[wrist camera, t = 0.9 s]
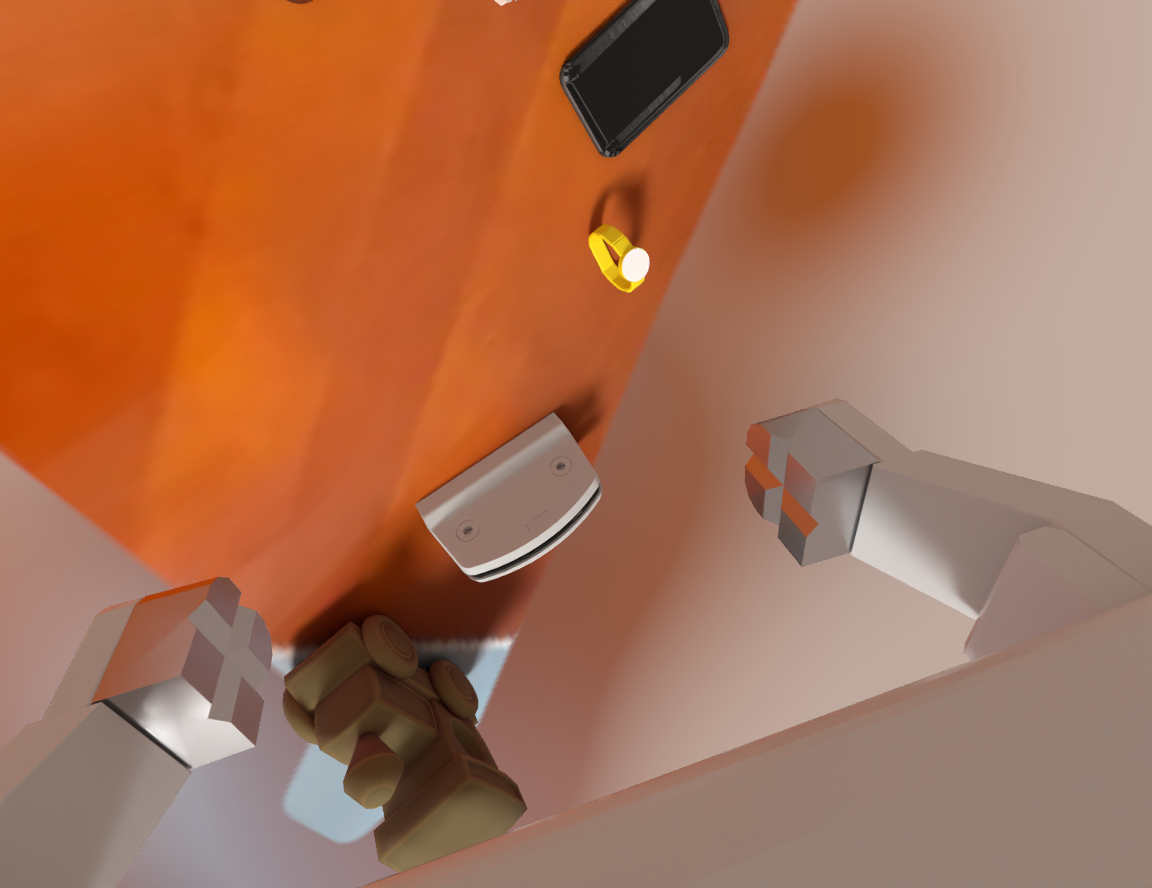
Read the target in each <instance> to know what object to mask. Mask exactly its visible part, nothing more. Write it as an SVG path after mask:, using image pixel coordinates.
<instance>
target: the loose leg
mask: <svg viewBox="0 0 1152 888" xmlns="http://www.w3.org/2000/svg"><path fill="white" fill-rule="evenodd" d="M287 1H290V2H293V3H297V4H304V3H308V2H311V1H312V0H287Z"/></svg>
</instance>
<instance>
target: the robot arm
mask: <svg viewBox="0 0 1152 888" xmlns="http://www.w3.org/2000/svg"><path fill="white" fill-rule="evenodd" d="M747 446H748V447H749V448H750V449H751V450H752V452H753V453H754V454H753V455H752V457H751V458H750V460H749V461H748V463H747V464H746V465H745V484H746V488H747V491H748V495H749V498H750V500H751V502H752V504H753V506H754V507H755V509H756V510H757V512H758V513H759V514H760V515H761V517H762V518H763V519H765V520H768V521H770V522H772V523H775V524H777V525H779V530H778V531H779V532H778V538H779V539H780V541H781V542H782V543H783V544H784V546H785V547H786V548H787V549H788V551H789V552H790V553H791V554H792V555H793V557H794V558H795V559H796V560H797V561H798V563H799V564H800V565H801V567H802V566H806V565H810V564H813V563H816V562H819V561H823V560H826V559H830V558H833V557H836V556H840V555H843V554H846V553H850V552H851V555H852V556H854V557H856V558H858V559H860V560H862V561H864V562H866V563H868V564H869V565H871V566H873V567H875V568H877V569H879V570H881V571H883V572H885V573H887V574H889V575H890V576H892V577H894V578H896V579H898V580H900V581H902V582H904V583H906V584H908V585H910V586H912V587H913V588H915V589H917V590H919V591H921V592H923V593H925V594H927V595H929V596H931V597H933V598H935V599H936V600H939V601H940V602H942V603H944V604H946V605H948V606H950V607H952V608H954V609H956V610H958V611H960V612H961V613H963V614H965V615H967V616H969V617H971V618H973V619H975V620H976V622H975V624H974V626H973V628H972V630H971V632H970V634H969V636H968V638H967V640H966V642H965V647H964V654H965V655H966V656H967V657H968V658H969V659H970V660H971V661H969V662H967V663H964V664H961V665H958V666H956V667H953V668H950V669H947V670H945V671H942V672H939V673H937V674H934V675H931V676H929V677H926V678H923V679H921V680H918V681H915V682H912V683H910V684H907V685H904V686H901V687H899V688H896V689H893V690H891V691H888V692H885V693H883V694H880V695H877V696H874V697H872V698H869V699H866V700H864V701H861V702H858V703H856V704H853V705H850V706H848V707H845V708H842V709H840V710H837V711H834V712H831V713H829V714H826V715H823V716H821V717H818V718H815V719H813V720H810V721H807V722H805V723H802V724H799V725H796V726H794V727H791V728H788V729H785V730H783V731H780V732H777V733H775V734H772V735H769V736H766V737H764V738H761V739H758V740H756V741H753V742H750V743H748V744H745V745H742V746H739V747H737V748H734V749H731V750H729V751H726V752H723V753H721V754H718V755H715V756H713V757H710V758H707V759H704V760H702V761H699V762H696V763H694V764H691V765H689V766H686V767H683V768H680V769H678V770H675V771H672V772H669V773H667V774H664V775H661V776H659V777H656V778H653V779H650V780H648V781H645V782H642V783H640V784H637V785H634V786H631V787H629V788H626V789H623V790H621V791H618V792H615V793H613V794H610V795H607V796H604V797H602V798H599V799H597V800H594V801H591V802H588V803H586V804H583V805H580V806H577V807H575V808H572V809H569V810H567V811H564V812H561V813H559V814H556V815H553V816H550V817H548V818H545V819H542V820H540V821H537V822H534V823H532V824H529V825H526V826H524V827H521V828H518V829H515V830H513V831H510V832H507V833H505V834H502V835H499V836H496V837H494V838H491V839H488V840H486V841H483V842H480V843H478V844H475V845H472V846H469V847H467V848H464V849H461V850H459V851H456V852H453V853H451V854H448V855H445V856H442V857H440V858H437V859H434V860H432V861H429V862H426V863H424V864H421V865H418V866H415V867H413V868H410V869H407V870H405V871H402V872H399V873H397V874H394V875H391V876H389V877H386V878H383V879H380V880H378V881H375V882H372V883H370V884H367V885H364V886H362V887H359V888H1152V526H1151V525H1149V524H1147V523H1146V522H1144V521H1143V520H1141V519H1140V518H1138V517H1136V516H1135V515H1133V514H1131V513H1130V512H1128V511H1127V510H1125V509H1124V508H1122V507H1121V506H1119V505H1117V504H1116V503H1114V502H1112V501H1109V500H1105V499H1101V498H1098V497H1094V496H1090V495H1086V494H1083V493H1079V492H1076V491H1072V490H1068V489H1065V488H1061V487H1057V486H1053V485H1050V484H1046V483H1042V482H1039V481H1035V480H1031V479H1028V478H1024V477H1020V476H1016V475H1013V474H1009V473H1006V472H1002V471H998V470H994V469H991V468H987V467H983V466H979V465H975V464H972V463H968V462H965V461H961V460H958V459H954V458H950V457H946V456H943V455H939V454H935V453H932V452H928V451H924V450H920V451H916V452H912V451H910V450H909V449H908V448H907V447H905V446H904V445H903V444H901V443H900V442H899V441H897V440H896V439H895V438H893V437H892V436H891V435H890V434H888V433H887V432H886V431H884V430H883V429H881V428H880V427H879V426H878V425H876V424H875V423H874V422H872V421H871V420H870V419H869V418H867V417H866V416H865V415H863V414H862V413H861V412H859V411H858V410H857V409H855V408H854V407H853V406H851V405H850V404H849V403H848V402H846V401H844V400H840V399H833V400H829V401H826V402H823V403H820V404H816V405H813V406H810V407H808V408H807V409H802V410H799V411H795V412H792V413H789V414H785V415H782V416H778V417H775V418H771V419H768V420H765V421H762V422H758V423H755V424H751V426H750V428H749V431H748V433H747ZM240 596H241V591H240V590H239V589H238V588H237V587H236V586H235V584H234V583H233V582H232V581H231V580H230V579H229V578H224V577H217V578H213V579H209V580H205V581H201V582H198V583H194V584H190V585H186V586H183V587H179V588H175V589H171V590H168V591H164V592H160V593H156V594H152V595H149V596H145V597H144V598H140V599H136V600H132V601H129V602H125V603H121V604H117V605H113V606H110V607H107V608H105V609H104V610H103V611H101V612H100V613H99V614H97V615H96V616H95V618H94V620H93V622H92V624H91V625H90V627H89V629H88V631H87V633H86V635H85V637H84V639H83V641H82V643H81V645H80V647H79V649H78V650H77V652H76V654H75V656H74V658H73V660H72V662H71V664H70V666H69V668H68V670H67V672H66V674H65V675H64V678H63V679H62V682H61V683H60V685H59V687H58V689H57V691H56V693H55V695H54V697H53V699H52V701H51V702H50V705H49V706H48V708H47V710H46V712H45V714H44V716H43V718H42V720H40V721H37V722H34V723H31V724H28V725H27V726H25V727H24V728H23V729H22V730H21V731H20V732H19V733H18V734H17V735H16V736H15V737H14V738H13V739H11V740H10V741H9V742H8V743H7V744H6V745H5V746H4V747H3V748H2V749H1V750H0V888H115V887H116V886H117V884H118V883H119V881H120V879H121V878H122V877H123V875H124V874H125V872H126V870H127V869H128V868H129V866H130V865H131V863H132V862H133V860H134V859H135V857H136V856H137V854H138V853H139V851H140V850H141V848H142V846H143V845H144V844H145V842H146V841H147V839H148V838H149V836H150V834H151V833H152V831H153V830H154V829H155V827H156V826H157V824H158V823H159V821H160V819H161V818H162V817H163V815H164V813H165V812H166V811H167V809H168V808H169V806H170V804H171V803H172V802H173V800H174V799H175V797H176V795H177V794H178V793H179V791H180V789H181V788H182V786H183V785H184V783H185V782H186V780H187V779H188V777H189V776H190V774H191V771H190V770H191V769H193V768H196V767H199V766H202V765H204V764H207V763H210V762H213V761H216V760H218V759H221V758H224V757H227V756H229V755H233V754H235V753H238V752H241V751H244V750H246V749H249V748H252V747H255V746H256V741H257V736H258V731H259V725H260V720H261V715H262V710H263V704H264V700H263V699H262V698H261V696H260V695H259V694H258V693H257V692H256V689H257V688H258V687H259V685H260V684H261V683H262V682H263V680H264V679H265V678H266V676H267V675H268V674H269V673H270V666H271V660H272V647H271V638H270V634H269V631H268V629H267V626H266V624H265V622H264V620H263V619H262V618H261V616H260V615H259V614H258V613H257V611H255V610H252V609H249V608H246V607H243V606H240V605H238V603H239V600H240Z"/></svg>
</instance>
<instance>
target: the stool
mask: <svg viewBox="0 0 1152 888" xmlns="http://www.w3.org/2000/svg"><path fill="white" fill-rule="evenodd" d="M495 1H496V2H497V3H498V4H499V5H501V6H502V5H504V4H505V3H507V2H508V3H509V2H511V1H512V0H495ZM515 1H517V0H515Z"/></svg>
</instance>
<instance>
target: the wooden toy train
mask: <svg viewBox="0 0 1152 888" xmlns="http://www.w3.org/2000/svg"><path fill="white" fill-rule="evenodd" d="M417 665H418V656H417V652H416V650H415V647H414V645H413V644H412V642H411V640H410V639H409V637H408V636H407V635H406V633H405V632H404V631H403V630H402V629H401V628H400V627H399V626H398V625H397V624H396V623H395V622H394V621H393V620H391V619H390V618H388V617H386V616H383V615H377V614H376V615H373V616H370V617H367V618H366V619H365V621H364V622H363V624H362V626H361V628H360V627H358V626H357V625H355V624H354V623H352V622H351V621H350V622H349V623H348V624H347V625H345V626H344V627H343V628H342V629H341V630H339V631H338V632H337V633H336V634H335V635H333V636H332V637H331V638H330V639H329V640H327V641H326V642H325V643H324V644H323V645H321V646H320V647H319V648H318V649H317V650H315V651H314V652H313V653H312V654H311V655H310V656H308V657H307V658H306V659H305V660H304V661H302V662H301V663H300V664H299V665H298V666H296V667H295V668H294V669H293V670H292V671H290V672H289V673H288V674H287V675H286V676H284V681H285V687H286V689H285V692H284V694H283V709H284V714H285V716H286V718H287V720H288V722H289V724H290V725H291V727H292V728H293V729H294V731H295V732H296V733H297V734H298V735H299V736H300V737H302V738H303V739H305V740H306V741H308V742H309V743H313V744H316V745H319V748H320V750H321V751H323V752H325V753H326V754H328V755H330V756H331V757H333V758H334V759H336V760H338V761H339V762H341V763H344V764H346V765H348V769H347V772H346V775H345V778H344V781H343V785H344V792H345V793H346V794H347V795H349V796H350V797H351V798H353V799H354V800H355V801H356V802H358V803H359V804H360V805H362V806H363V807H365V808H366V809H374V808H377V807H379V806H382V807H383V812H384V817H385V821H384V822H383V823H382V824H381V825H379V826H378V827H377V828H376V829H375V830H374V836H375V842H376V848H377V853H378V858H379V861H380V862H382V863H383V864H385V865H387V866H388V867H390V868H391V869H393V870H395V871H396V872H402V871H405V870H407V869H410V868H413V867H415V866H418V865H421V864H424V863H426V862H429V861H432V860H434V859H437V858H440V857H442V856H445V855H448V854H451V853H453V852H456V851H459V850H461V849H464V848H467V847H469V846H472V845H475V844H478V843H480V842H483V841H486V840H488V839H491V838H494V837H496V836H499V835H502V834H505V833H507V831H508V830H509V829H510V828H511V827H512V826H513V825H514V824H515V822H516V821H517V820H518V819H519V818H520V817H521V816H522V815H523V813H524V812H525V811H526V810H527V807H526V804H525V802H524V800H523V797H522V795H521V793H520V790H519V788H518V785H517V784H516V783H515V782H514V781H513V780H512V779H511V778H509V777H508V776H507V775H506V774H505V773H503V772H501V771H499V770H498V767H497V765H496V763H495V761H494V759H493V757H492V755H491V753H490V751H489V749H488V747H487V745H486V743H485V742H484V740H483V738H482V737H481V735H480V734H479V732H478V731H477V729H476V727H475V725H476V724H477V723H478V721H477V719H476V716H475V713H476V711H477V709H478V698H477V695H476V692H475V690H474V688H473V686H472V685H471V683H470V682H469V680H468V679H467V677H466V676H465V675H464V674H463V672H462V671H461V670H460V669H459V668H458V667H457V666H455V665H454V664H453V663H452V662H450V661H448V660H438V661H435V662H434V663H433V664H432V665H431V667H430V671H429V673H428V672H426V671H425V670H423V669H422V668H420V667H419V666H417Z"/></svg>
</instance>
